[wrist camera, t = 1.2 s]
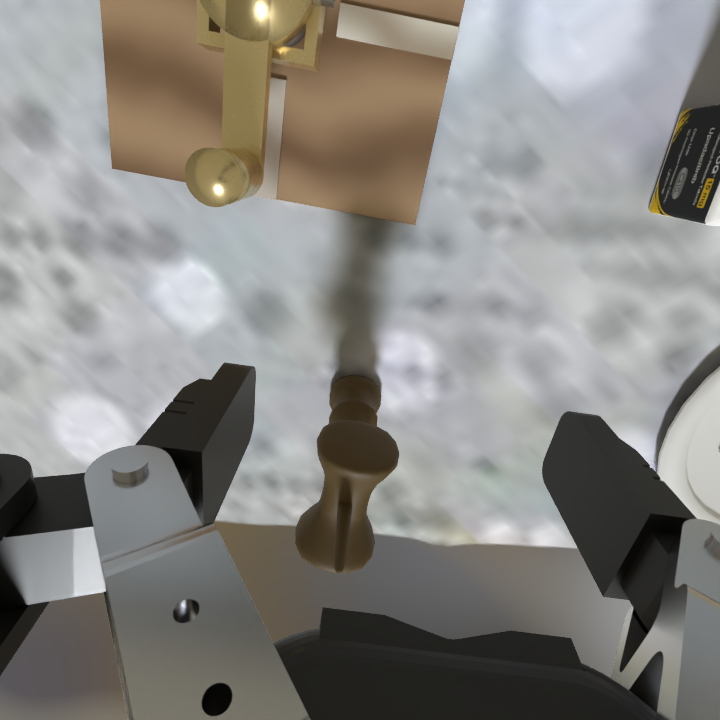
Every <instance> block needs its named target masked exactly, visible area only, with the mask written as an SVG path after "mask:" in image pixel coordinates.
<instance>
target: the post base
mask: <svg viewBox="0 0 720 720" xmlns="http://www.w3.org/2000/svg"><path fill="white" fill-rule="evenodd" d="M464 2H465V0H335V7H334V8H330V7H325V17H324V26H323V35H322V44H321V53H320V62H319V71H318V72H315V71H310V70H305V69H300V68H295V67H290V66H285V65H280V64H275V63H271V77H270V92H269V106H268V120H267V135H266V149H265V163H264V178H263V184H262V185H261V187H260V189H259V190H258V192H257V193H256V194H254V196H259V197H265V198H270V199H276V200H277V199H278V200H284V201H289V202H294V203H300V204H305V205H310V206H316V207H321V208H326V209H332V210H337V211H343V212H348V213H353V214H359V215H364V216H369V217H375V218H380V219H385V220H391V221H396V222H401V223H407V224H412V225H415V223H416V219H417V214H418V210H419V205H420V201H421V196H422V192H423V187H424V183H425V178H426V173H427V169H428V164H429V160H430V155H431V151H432V146H433V142H434V137H435V133H436V128H437V124H438V119H439V115H440V110H441V106H442V101H443V97H444V92H445V88H446V83H447V79H448V74H449V70H450V65H451V60H452V58H453V54H454V49H455V45H456V40H457V36H458V31H459V24H460V20H461V15H462V11H463V6H464ZM100 5H101V19H102V33H103V47H104V61H105V75H106V89H107V103H108V117H109V131H110V146H111V160H112V169H118V170H123V171H128V172H134V173H139V174H144V175H150V176H155V177H161V178H166V179H171V180H177V181H182V182H186V181H185V165H186V162H187V160H188V158H189V157H190V156H191V155H192V153H194V152H195V151H197V150H199V149H201V148H221V146H222V113H223V79H224V53H220V52H215V51H210V50H207V49H206V48H204V47H202V46H201V45H199V44H198V43H197V0H100ZM220 33H222V34H225V31H224V30H223V29H222V28H221V27H220ZM305 33H306V25H305V27H304V28H303V29H302V31H301V32H300V33H299V34H298V35H297V36H296V37H295V38H294V39H293V40H291V41H290V42H289V43H287V44H285V45H283V46H287V47H292V48H297V49H302V50H304V43H305Z"/></svg>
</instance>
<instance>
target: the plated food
mask: <svg viewBox="0 0 720 720" xmlns="http://www.w3.org/2000/svg"><path fill="white" fill-rule="evenodd" d="M657 474H658V475H659V476H660V480H661V481H664V482H665V483H666V484H667V485H668V487H669V488H670V489H671V490H672V491H673V492H674V493H675V494H676V496H677V497H678V498H679V499H680V500H681V501H682V502H683V503H684V505H685V506H686V507H687V508H688V509H689V510H690V511H691V512H692V514H693V515H694V516H695V517H696V518H697V519H702V520H707V521H711V522H714V523H717V524H719V525H720V366H719V367H718V368H717V369H716V370H715V371H714V372H712V373H711V374H710V375H709V376H708V377H707V378H705V380H704V381H703V382H702V383H701V384H700V385H699V386H698V388H697V389H696V390H695V391H694V392H693V393H692V394H691V396H690V397H689V398H688V399H687V400H686V401H685V403H684V404H683V405H682V407H681V409H680V410H679V412H678V413H677V415H676V417H675V418H674V420H673V422H672V423H671V425H670V427H669V428H668V430H667V433H666V436H665V438H664V441H663V444H662V447H661V449H660V452H659V457H658V466H657Z"/></svg>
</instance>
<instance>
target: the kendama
mask: <svg viewBox="0 0 720 720" xmlns="http://www.w3.org/2000/svg"><path fill="white" fill-rule="evenodd" d="M380 404H381V393H380V391H379V388H378V386H377V385H376V384H375V383H374V382H373V381H372V380H370V379H367V378H365V377H362V376H351V375H350V376H347V377H343V378H340V379H339V380H338V381H337V382H336V383H335V384H334V385H333V388H332V390H331V393H330V406H331V409H332V412H331V414H330V417H329V424H328V425H326V426H325V427H323V429H322V431H321V433H320V435H319V436H318V438H317V448H318V456H319V460H320V462H321V465H322V468H323V470H324V474H325V480H324V487H323V491H322V495H321V498H320V500H319V502H318V503H316V504H314V505H313V506H312V507H311V508H309V509H308V510H307V511H306V512H305V513H303V514H302V516H301V517H300V519H299V522H298V524H297V526H296V541H295V542H296V543H295V544H296V546H297V548H298V551H299V553H300V555H301V557H302V558H303V559H305V560H306V561H307V562H308V563H310V564H311V565H312V566H314V567H316V568H319V569H322V570H325V571H328V572H331V573H338V574H340V573H350V572H352V571H355V570H358V569H361V568H363V567H364V565H365V564H366V563H367V562H368V561H369V559H370V558H371V556H372V553H373V549H374V544H375V541H374V535H373V530H372V526H371V523H370V521H369V519H368V517H367V514H366V512H367V505H368V501H369V498H370V495H371V493H372V491H373V490H374V488H375V487H376V485H377V484H378V483H380V482H381V481H383V480H384V479H385V478H386V477H387V476H388V475H389V474H390V473H391V472H392V471H393V470H394V469H395V468H396V466H397V463H398V458H399V451H398V447H397V444H396V442H395V440H394V439H393V438H392V437H391V436H390V435H389V433H388V432H386V431H384V430H382V429H380V428H379V427H377V415H376V413H377V411H378V409H379V407H380Z"/></svg>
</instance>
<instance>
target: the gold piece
mask: <svg viewBox="0 0 720 720" xmlns="http://www.w3.org/2000/svg"><path fill="white" fill-rule="evenodd" d="M325 7H330V8H334V7H335V0H197V43H198V44H199V45H201V46H202V47H204V48H206V49H207V50H210V51H215V52H220V53H224V79H223V113H222V146H221V148H201V149H199V150H197V151H195V152H194V153H192V155H191V156H190V157H189V158H188V160H187V162H186V165H185V181H186V184H187V186H188V189H189V190H190V192H191V193H192V195H193V196H194V197H195V198H196V199H197V200H198V201H200V202H201V203H203V204H205V205H207V206H211V207H221V206H224V205H227V204H230V203H233V202H236V201H239V200H242V199H245V198H248V197H251V196H253V195H254V194H256V193H257V192H258V190H259V189H260V187H261V185H262V184H263V178H264V163H265V149H266V135H267V120H268V106H269V92H270V77H271V63H275V64H280V65H285V66H290V67H295V68H300V69H305V70H310V71H315V72H318V71H319V62H320V53H321V44H322V35H323V26H324V17H325ZM305 25H306V33H305V43H304V50H302V49H297V48H292V47H287V46H283V45H285V44H287V43H289V42H290V41H291V40H293V39H294V38H295V37H296V36H297V35H298V34H299V33H300V32H301V31H302V29H303V28H304V27H305ZM220 27H221V28H222V29H223V30H224V31H225V34H222V33H220Z"/></svg>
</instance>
